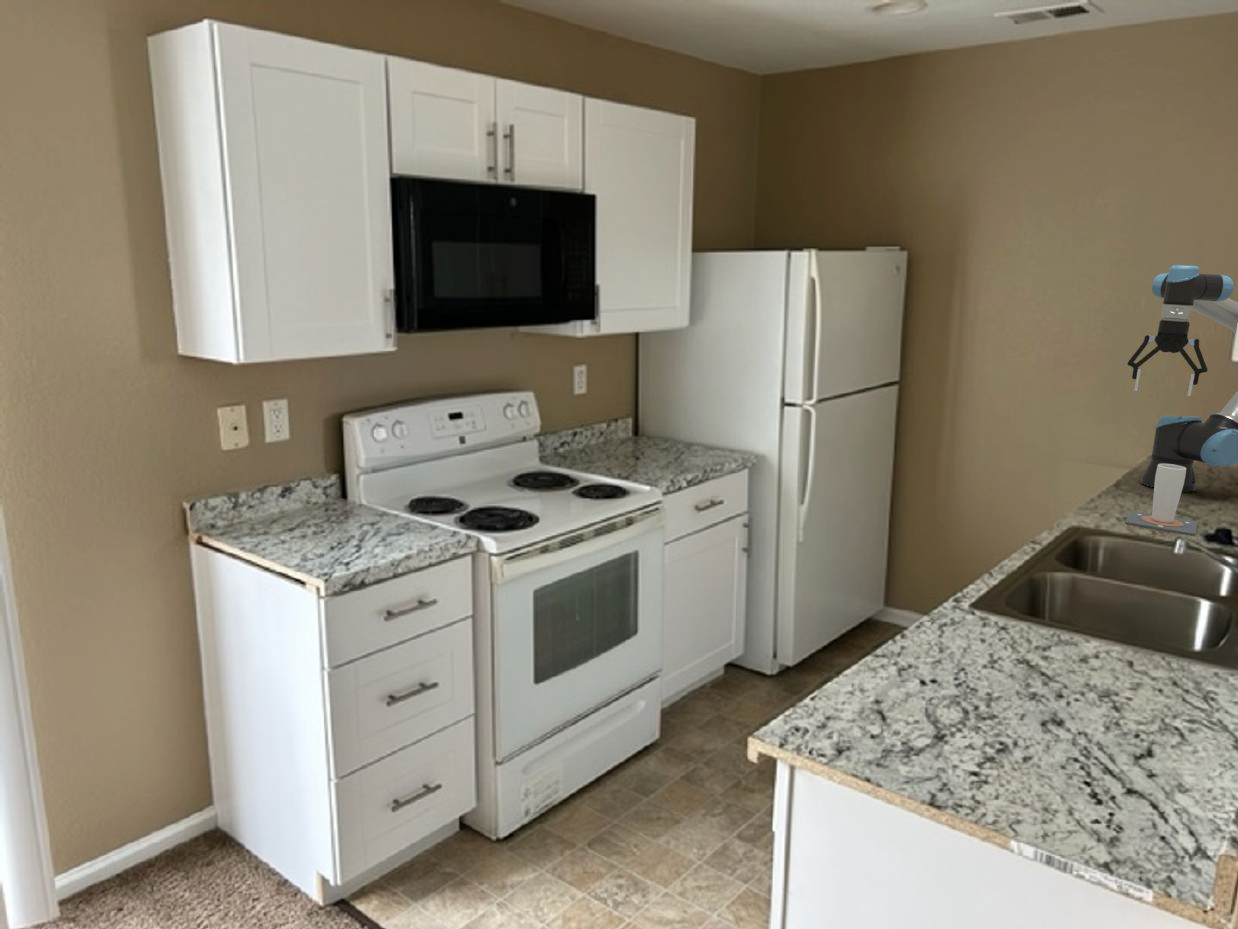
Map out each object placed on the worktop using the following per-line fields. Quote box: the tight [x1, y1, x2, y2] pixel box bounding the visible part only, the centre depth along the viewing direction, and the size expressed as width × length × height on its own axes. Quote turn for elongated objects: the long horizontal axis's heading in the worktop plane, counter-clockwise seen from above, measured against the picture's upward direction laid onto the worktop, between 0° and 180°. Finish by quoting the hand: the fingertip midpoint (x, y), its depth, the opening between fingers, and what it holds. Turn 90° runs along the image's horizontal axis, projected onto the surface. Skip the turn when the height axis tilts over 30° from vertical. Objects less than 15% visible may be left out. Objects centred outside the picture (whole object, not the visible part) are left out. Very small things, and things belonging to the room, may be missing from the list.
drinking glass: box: [1151, 464, 1186, 523], centre depth 247 cm, size 7×7×15 cm
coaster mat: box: [1124, 510, 1199, 537], centre depth 249 cm, size 16×16×1 cm
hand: (1161, 393), depth 272 cm, fingers open, 13 cm apart
